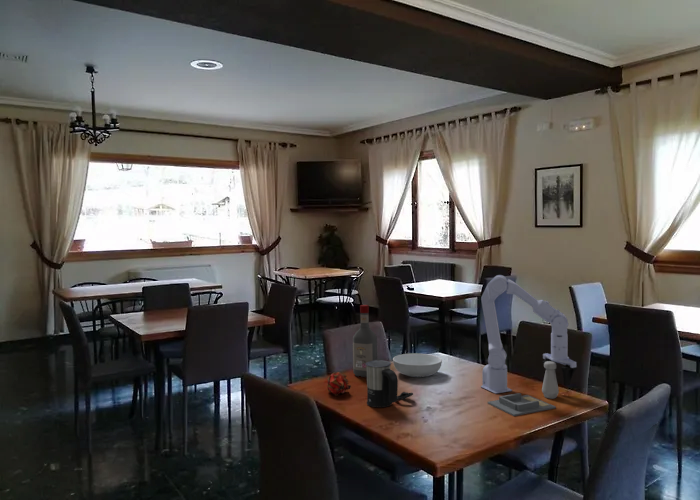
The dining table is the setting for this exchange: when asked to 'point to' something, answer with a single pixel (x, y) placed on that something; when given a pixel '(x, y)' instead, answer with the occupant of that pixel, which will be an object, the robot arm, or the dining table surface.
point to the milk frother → (382, 384)
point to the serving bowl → (417, 364)
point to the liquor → (364, 344)
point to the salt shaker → (550, 381)
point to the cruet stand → (520, 404)
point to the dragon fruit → (337, 383)
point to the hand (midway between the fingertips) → (559, 382)
